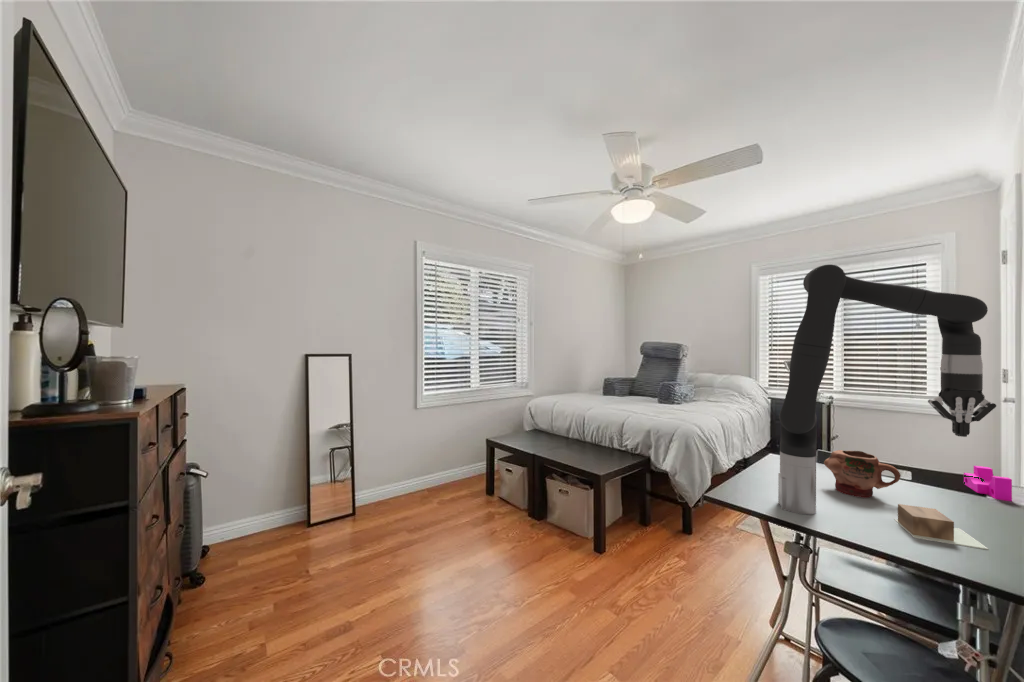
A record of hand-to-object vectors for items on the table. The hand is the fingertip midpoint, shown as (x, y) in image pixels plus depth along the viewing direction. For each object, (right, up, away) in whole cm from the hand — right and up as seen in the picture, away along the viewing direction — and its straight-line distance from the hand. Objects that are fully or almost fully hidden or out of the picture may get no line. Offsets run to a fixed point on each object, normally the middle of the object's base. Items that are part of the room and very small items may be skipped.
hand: (961, 436), depth 108 cm
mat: (-5, -27, +1) cm, 27 cm away
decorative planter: (-1, -27, +30) cm, 40 cm away
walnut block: (-4, -24, +1) cm, 24 cm away
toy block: (+45, -28, +32) cm, 62 cm away
